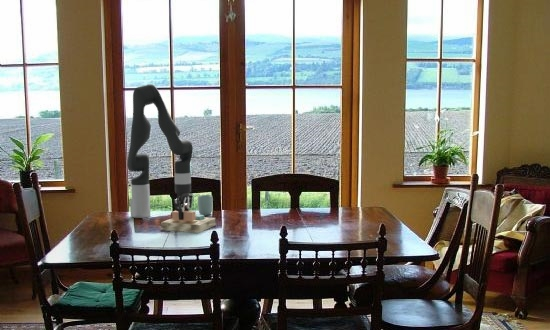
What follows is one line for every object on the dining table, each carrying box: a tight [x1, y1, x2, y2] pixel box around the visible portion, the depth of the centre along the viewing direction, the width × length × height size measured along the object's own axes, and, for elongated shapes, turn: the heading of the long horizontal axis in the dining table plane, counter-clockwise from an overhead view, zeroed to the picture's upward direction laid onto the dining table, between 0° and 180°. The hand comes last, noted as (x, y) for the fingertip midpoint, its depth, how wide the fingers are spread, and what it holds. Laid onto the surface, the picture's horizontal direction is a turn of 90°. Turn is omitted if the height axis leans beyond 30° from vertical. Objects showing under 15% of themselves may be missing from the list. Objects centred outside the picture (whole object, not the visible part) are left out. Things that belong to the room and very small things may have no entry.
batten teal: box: [195, 213, 205, 220], centre depth 265 cm, size 10×4×4 cm, turn 66°
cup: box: [197, 194, 214, 216], centre depth 291 cm, size 8×8×10 cm
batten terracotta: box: [171, 209, 196, 221], centre depth 256 cm, size 10×4×4 cm, turn 75°
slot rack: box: [160, 216, 217, 234], centre depth 261 cm, size 20×17×4 cm
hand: (183, 218), depth 257 cm, fingers closed on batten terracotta, 4 cm apart
